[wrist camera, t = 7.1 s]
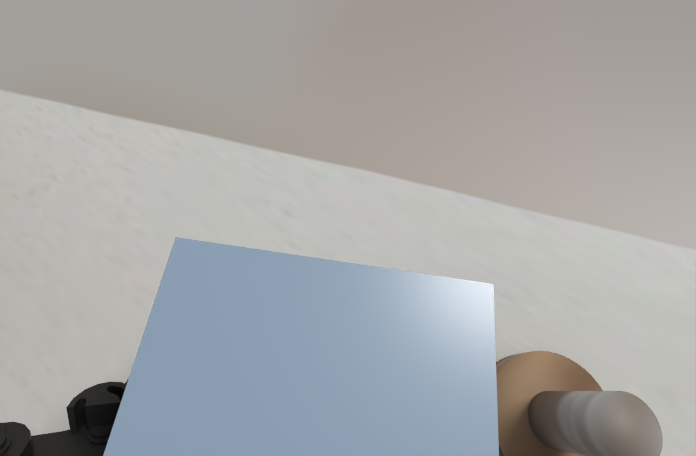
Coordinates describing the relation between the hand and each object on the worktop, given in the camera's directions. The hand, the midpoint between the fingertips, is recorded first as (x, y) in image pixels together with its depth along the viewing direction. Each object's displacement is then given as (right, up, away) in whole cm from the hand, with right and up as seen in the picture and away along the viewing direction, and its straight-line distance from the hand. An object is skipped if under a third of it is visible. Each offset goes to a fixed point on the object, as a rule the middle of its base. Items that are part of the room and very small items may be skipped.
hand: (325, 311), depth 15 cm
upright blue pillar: (-1, -5, +2) cm, 5 cm away
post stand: (+13, -9, +10) cm, 19 cm away
